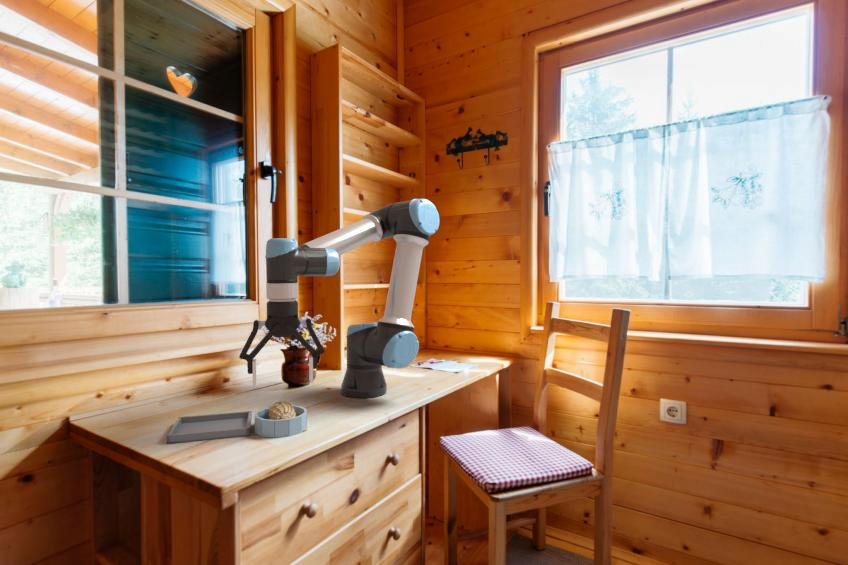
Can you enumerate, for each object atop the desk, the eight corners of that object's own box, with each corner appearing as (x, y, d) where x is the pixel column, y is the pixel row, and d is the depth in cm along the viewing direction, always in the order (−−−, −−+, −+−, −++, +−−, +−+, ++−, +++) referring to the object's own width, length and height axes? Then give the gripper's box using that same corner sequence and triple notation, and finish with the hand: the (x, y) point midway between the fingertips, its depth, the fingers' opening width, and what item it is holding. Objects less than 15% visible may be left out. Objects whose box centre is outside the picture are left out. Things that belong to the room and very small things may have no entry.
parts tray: (251, 417, 117) (251, 410, 117) (249, 435, 104) (249, 428, 104) (178, 424, 111) (178, 417, 111) (166, 444, 98) (166, 436, 98)
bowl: (304, 418, 117) (304, 403, 117) (308, 434, 106) (308, 417, 105) (255, 422, 113) (255, 407, 113) (253, 439, 101) (254, 422, 101)
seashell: (256, 427, 109) (277, 430, 103) (256, 403, 110) (277, 404, 104) (284, 422, 115) (306, 424, 108) (283, 399, 116) (305, 400, 109)
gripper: (330, 297, 117) (331, 376, 117) (229, 300, 108) (230, 384, 109) (334, 299, 110) (335, 383, 110) (226, 302, 101) (228, 392, 102)
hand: (283, 384), depth 110 cm, fingers open, 13 cm apart
